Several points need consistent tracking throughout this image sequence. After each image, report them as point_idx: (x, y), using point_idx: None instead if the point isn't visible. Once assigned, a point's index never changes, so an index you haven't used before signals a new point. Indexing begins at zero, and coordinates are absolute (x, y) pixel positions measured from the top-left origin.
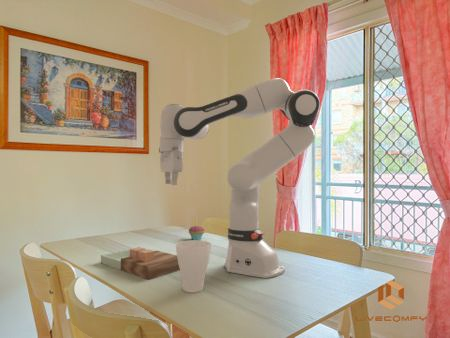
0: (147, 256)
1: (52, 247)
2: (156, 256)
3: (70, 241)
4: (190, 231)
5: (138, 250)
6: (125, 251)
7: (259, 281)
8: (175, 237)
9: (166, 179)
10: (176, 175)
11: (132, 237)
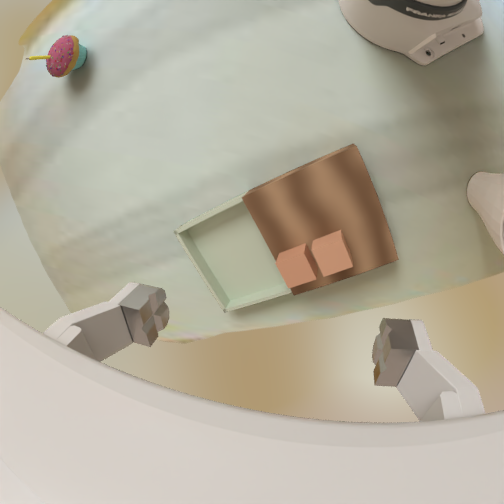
0: (350, 255)
1: None
2: (312, 215)
3: (75, 307)
4: (65, 72)
5: (314, 273)
6: (195, 260)
7: (491, 55)
8: (52, 109)
9: (147, 344)
10: (465, 400)
11: (45, 204)
